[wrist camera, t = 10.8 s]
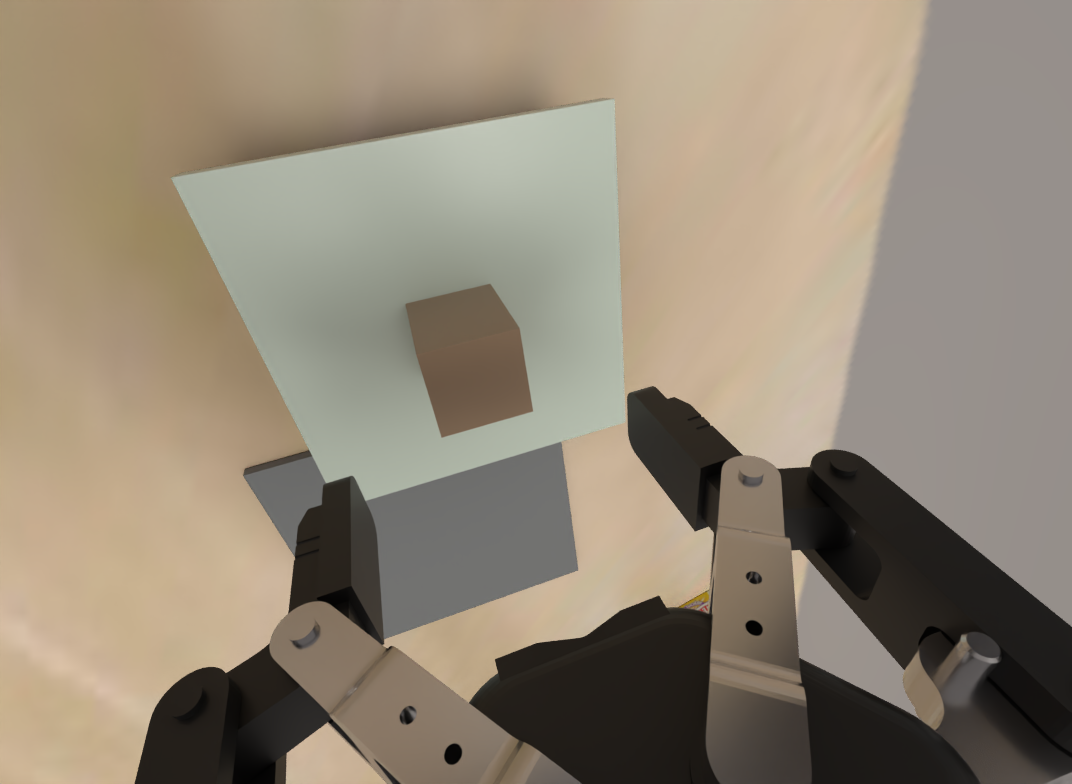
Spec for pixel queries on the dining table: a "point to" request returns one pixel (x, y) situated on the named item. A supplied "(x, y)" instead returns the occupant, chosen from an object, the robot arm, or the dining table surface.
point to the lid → (430, 289)
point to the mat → (446, 531)
